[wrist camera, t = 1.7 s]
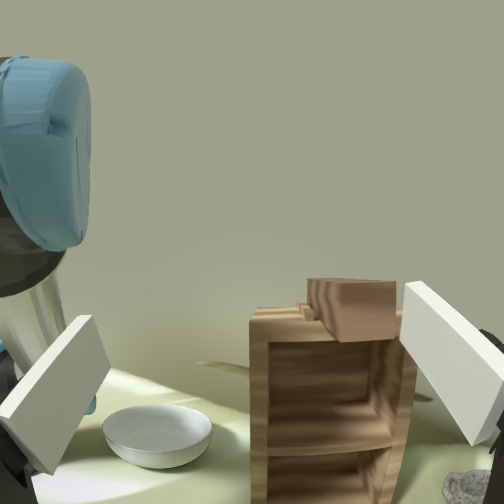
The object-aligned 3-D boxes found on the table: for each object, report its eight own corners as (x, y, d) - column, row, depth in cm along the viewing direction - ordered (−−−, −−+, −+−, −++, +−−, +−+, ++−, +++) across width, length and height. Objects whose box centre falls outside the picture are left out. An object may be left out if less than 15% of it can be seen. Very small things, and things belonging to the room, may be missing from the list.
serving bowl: (182, 422, 64) (179, 397, 65) (236, 462, 48) (235, 432, 48) (96, 438, 51) (91, 410, 51) (129, 494, 35) (121, 461, 35)
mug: (492, 514, 20) (509, 481, 20) (460, 536, 19) (478, 503, 19) (455, 488, 29) (466, 456, 30) (423, 504, 29) (434, 472, 29)
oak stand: (384, 522, 27) (421, 305, 29) (251, 532, 28) (249, 312, 31) (363, 472, 41) (380, 297, 43) (258, 478, 42) (257, 300, 44)
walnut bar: (394, 338, 20) (396, 281, 20) (340, 342, 20) (341, 283, 20) (334, 306, 44) (334, 278, 44) (307, 306, 44) (307, 278, 44)
